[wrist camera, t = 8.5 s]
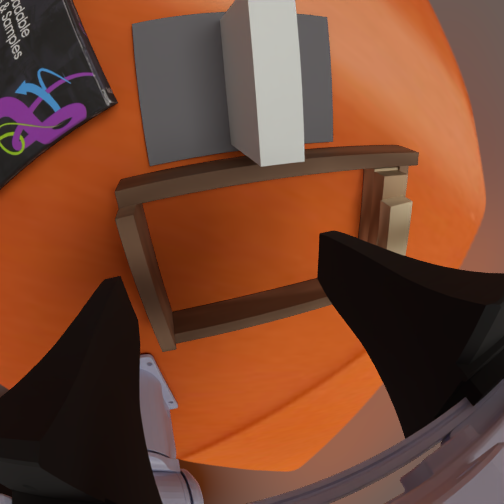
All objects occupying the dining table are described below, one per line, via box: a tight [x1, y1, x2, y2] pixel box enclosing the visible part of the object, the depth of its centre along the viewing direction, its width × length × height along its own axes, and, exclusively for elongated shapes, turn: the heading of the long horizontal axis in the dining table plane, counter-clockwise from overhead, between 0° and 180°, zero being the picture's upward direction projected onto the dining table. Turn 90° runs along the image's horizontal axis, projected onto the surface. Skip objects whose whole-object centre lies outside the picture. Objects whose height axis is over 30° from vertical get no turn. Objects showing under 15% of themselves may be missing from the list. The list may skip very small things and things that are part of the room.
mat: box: [132, 12, 333, 166], centre depth 15 cm, size 9×12×1 cm
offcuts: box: [358, 166, 412, 256], centre depth 22 cm, size 9×3×4 cm, turn 5°
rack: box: [115, 145, 419, 352], centre depth 20 cm, size 12×20×4 cm, turn 94°
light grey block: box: [220, 0, 305, 167], centre depth 13 cm, size 8×2×6 cm, turn 5°
